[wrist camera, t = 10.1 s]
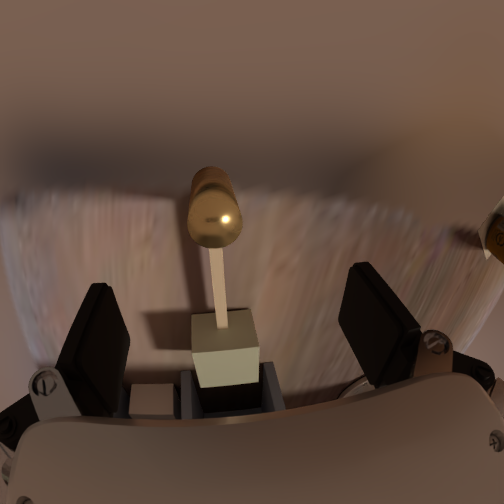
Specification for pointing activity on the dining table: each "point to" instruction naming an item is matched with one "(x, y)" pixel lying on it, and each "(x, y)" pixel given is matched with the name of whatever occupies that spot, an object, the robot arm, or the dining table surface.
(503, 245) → the condiment
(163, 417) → the grey block
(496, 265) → the dining table surface
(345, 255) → the dining table surface
